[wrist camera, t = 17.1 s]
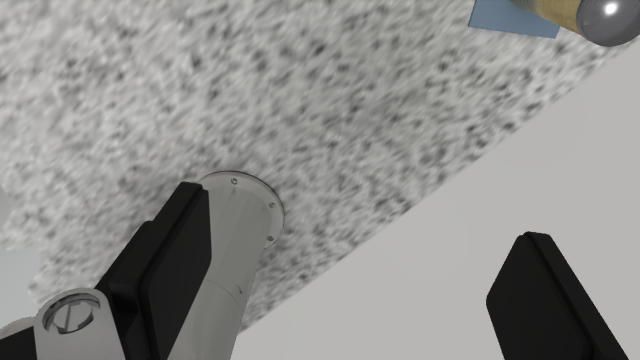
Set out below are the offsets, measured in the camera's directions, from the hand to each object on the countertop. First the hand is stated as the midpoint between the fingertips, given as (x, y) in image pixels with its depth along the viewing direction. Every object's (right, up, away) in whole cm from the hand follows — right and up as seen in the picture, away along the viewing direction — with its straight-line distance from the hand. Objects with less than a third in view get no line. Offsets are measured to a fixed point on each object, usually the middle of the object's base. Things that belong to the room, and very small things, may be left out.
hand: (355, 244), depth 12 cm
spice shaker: (+17, +19, +22) cm, 34 cm away
